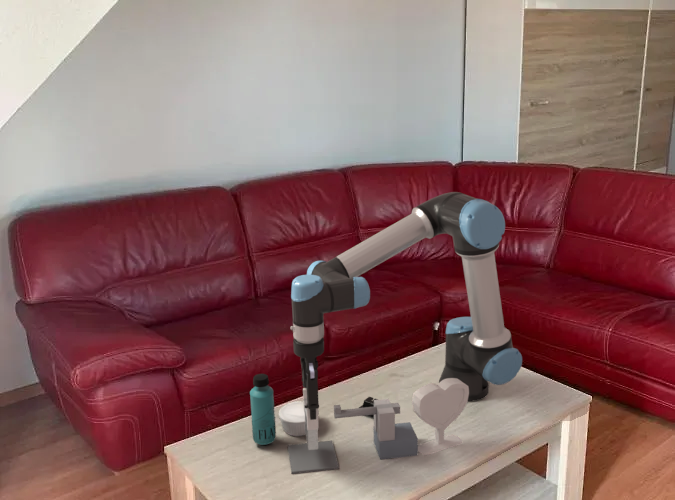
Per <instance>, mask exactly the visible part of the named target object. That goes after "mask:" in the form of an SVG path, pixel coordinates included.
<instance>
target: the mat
mask: <svg viewBox="0 0 675 500" xmlns="http://www.w3.org/2000/svg"><path fill="white" fill-rule="evenodd" d="M287 451H288V459H289V464H290V466H289V467H290V472H291V475H294V474H295V475H296V474H305V473H314V472H321V471H331V470H339V469H340V466H339V465H340V464H339V462H338V459H337V454H336V451H335V446H334V442H333V440H323V441H318V449H315V450H308V445H307V442H304V443H303V442H302V443H293V444H287Z"/></svg>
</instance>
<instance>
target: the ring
mask: <svg viewBox="0 0 675 500" xmlns="http://www.w3.org/2000/svg"><path fill="white" fill-rule="evenodd" d="M305 405H307V399H304V415H305V435H304V436H305V439H306V443H307V445H308V450H315V449H318V442H319V431H318V430H319V428H318V429H314V430H308V429H307V408H305Z"/></svg>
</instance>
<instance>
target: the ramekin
mask: <svg viewBox="0 0 675 500" xmlns="http://www.w3.org/2000/svg"><path fill="white" fill-rule="evenodd" d="M319 412H320V411H319V409H318V416H319V414H320V413H319ZM278 417H279V420H280V423H281V428H282V429H283V431H284V432H285V433H286V434H288V435H290V436H293V437H304V436H306V435H305V415H304V403H303V400H302V401H301V400H299V401H297V400H296V401H292V402H289V403H285V405H282V406H281V407H280V409H279V411H278Z"/></svg>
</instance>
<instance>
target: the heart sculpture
mask: <svg viewBox="0 0 675 500" xmlns="http://www.w3.org/2000/svg"><path fill="white" fill-rule="evenodd" d="M468 396H469V387H468V386H467V385H466V384H464V383H463V382H462V381H460V380H459V379H457V378H447V379H444V380H442V381H441V382H440V383H439V382H438V383H437V384H436V383H434V382H429V383H427V384H424V385H422V386H420V387H419V388H417V389H416V390H415V391H414V392H413V393H412V399H411V405H412V410H413V412H414V413H415V414H416V416H417V417H418V418H419V419H421V420H422V421H423V422H424V423H425V424H427V425H429V426H430V427H433V428H435V429H434V431H435V434H434V435H435V437H434V438H435V439H432V440H429V441H426V442H423V443H420V444H419V443H418V453H420V454H422V455H425V456H429V455H431V454H435V453H438V452H441V451H443V450H447V449H450V448H452V447H456V446H459V445H462V444H463V443H464V442H463V440H462V438H461V437H460V436H458V435H455V434H451V433H450V434H448V435H445V430H447V428H449V426H450V425H451V424H453V422H454V421H456V420H457V418H458V417H459V416H460V415H461V413H463V411H464V410H465V407H466V405H467V404H468V402H469V401H468Z"/></svg>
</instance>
